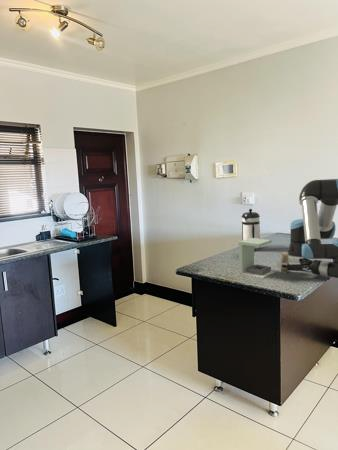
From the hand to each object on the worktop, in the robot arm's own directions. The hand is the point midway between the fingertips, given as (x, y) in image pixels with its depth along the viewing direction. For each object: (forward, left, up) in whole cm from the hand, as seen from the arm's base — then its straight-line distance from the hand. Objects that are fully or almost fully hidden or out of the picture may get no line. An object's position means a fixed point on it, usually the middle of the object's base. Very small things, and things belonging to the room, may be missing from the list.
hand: (282, 261), depth 194 cm
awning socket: (+14, +3, -6) cm, 16 cm away
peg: (-1, 0, -6) cm, 6 cm away
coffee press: (+19, -56, -6) cm, 60 cm away
